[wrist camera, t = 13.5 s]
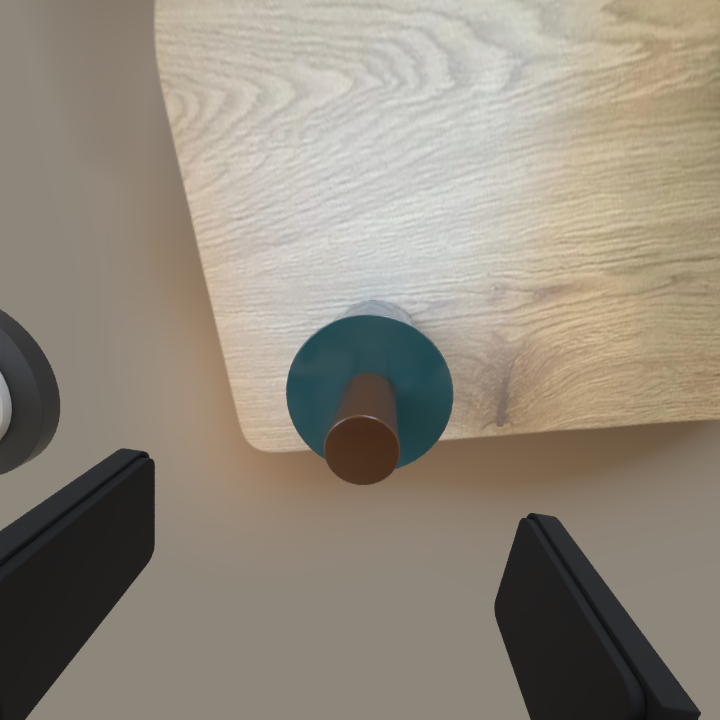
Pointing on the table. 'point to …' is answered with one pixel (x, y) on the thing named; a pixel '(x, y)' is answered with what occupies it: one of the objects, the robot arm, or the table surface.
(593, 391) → the table surface
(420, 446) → the lid
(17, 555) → the robot arm
